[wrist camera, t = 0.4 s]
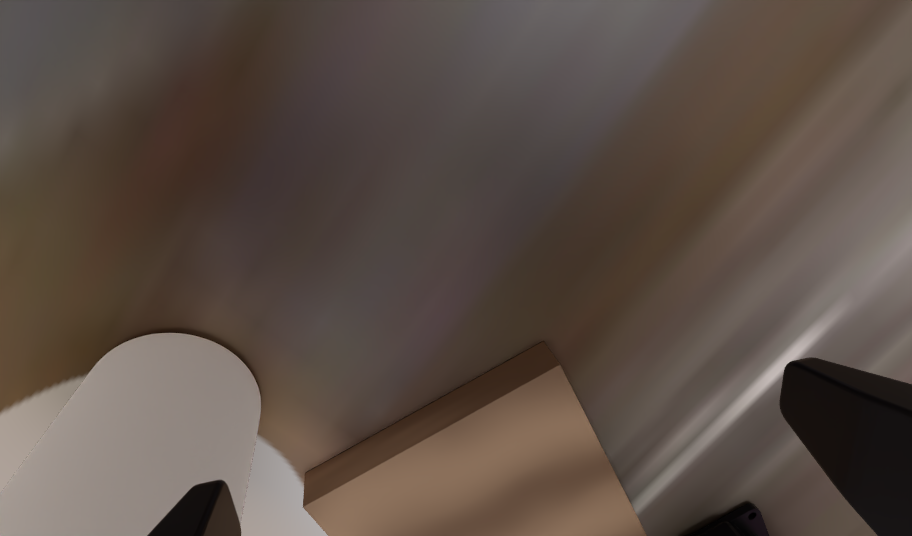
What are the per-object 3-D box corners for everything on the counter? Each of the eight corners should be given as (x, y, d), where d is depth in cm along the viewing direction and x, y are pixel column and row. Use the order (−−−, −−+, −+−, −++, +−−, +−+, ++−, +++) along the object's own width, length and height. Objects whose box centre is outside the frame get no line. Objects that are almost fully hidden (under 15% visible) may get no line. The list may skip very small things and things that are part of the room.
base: (630, 510, 30) (649, 541, 28) (430, 620, 30) (437, 658, 28) (543, 341, 25) (560, 364, 23) (304, 473, 25) (302, 506, 23)
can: (197, 489, 24) (88, 853, 14) (49, 413, 22) (-231, 785, 11) (296, 386, 24) (265, 686, 13) (155, 294, 21) (-37, 569, 10)
